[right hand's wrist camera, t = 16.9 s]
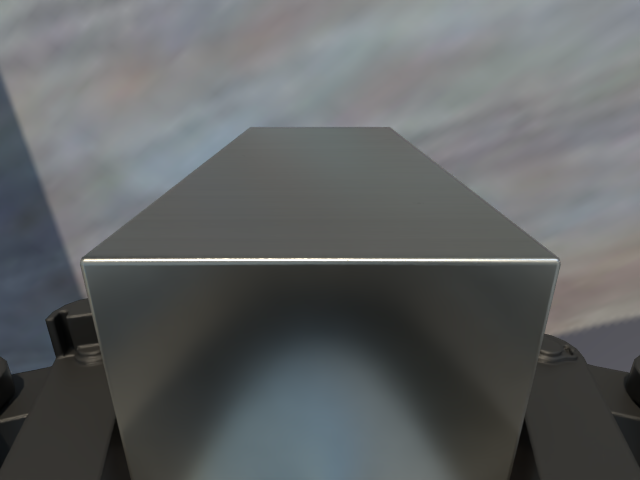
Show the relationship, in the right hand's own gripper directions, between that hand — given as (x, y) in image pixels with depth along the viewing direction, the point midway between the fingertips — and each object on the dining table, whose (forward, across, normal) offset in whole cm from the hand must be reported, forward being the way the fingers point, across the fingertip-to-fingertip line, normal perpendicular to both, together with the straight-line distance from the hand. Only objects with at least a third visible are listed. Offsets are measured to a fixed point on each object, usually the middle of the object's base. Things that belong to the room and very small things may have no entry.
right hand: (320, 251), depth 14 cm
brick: (+2, 0, 0) cm, 2 cm away
